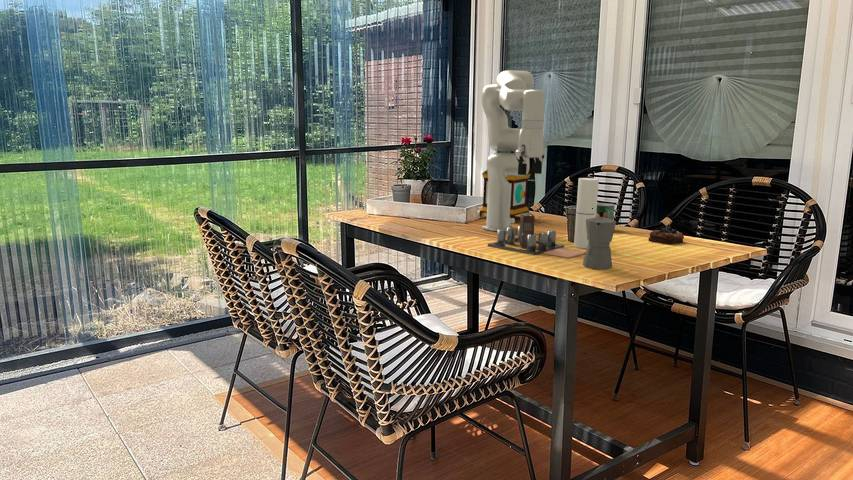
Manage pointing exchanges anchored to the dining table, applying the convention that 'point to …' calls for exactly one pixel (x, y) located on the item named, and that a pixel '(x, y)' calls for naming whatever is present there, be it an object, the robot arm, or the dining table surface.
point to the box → (526, 228)
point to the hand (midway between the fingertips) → (529, 174)
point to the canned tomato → (605, 210)
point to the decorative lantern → (517, 194)
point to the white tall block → (585, 209)
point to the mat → (564, 253)
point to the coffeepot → (599, 242)
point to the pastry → (666, 236)
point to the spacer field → (543, 242)
